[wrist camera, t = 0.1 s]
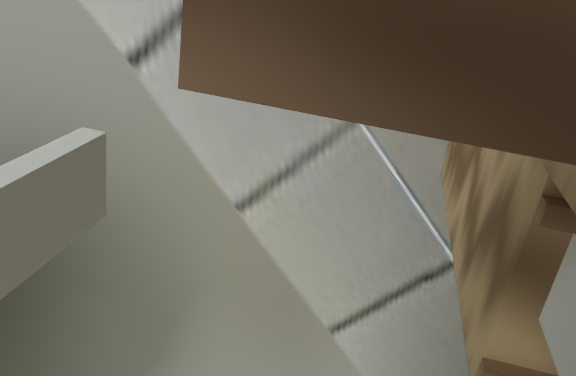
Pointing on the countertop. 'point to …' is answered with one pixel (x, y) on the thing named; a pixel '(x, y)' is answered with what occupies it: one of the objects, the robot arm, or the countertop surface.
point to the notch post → (506, 252)
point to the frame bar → (398, 65)
